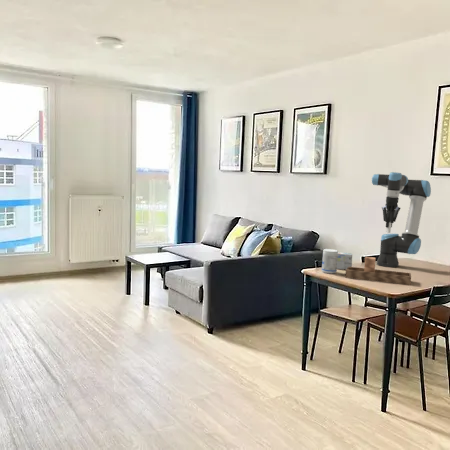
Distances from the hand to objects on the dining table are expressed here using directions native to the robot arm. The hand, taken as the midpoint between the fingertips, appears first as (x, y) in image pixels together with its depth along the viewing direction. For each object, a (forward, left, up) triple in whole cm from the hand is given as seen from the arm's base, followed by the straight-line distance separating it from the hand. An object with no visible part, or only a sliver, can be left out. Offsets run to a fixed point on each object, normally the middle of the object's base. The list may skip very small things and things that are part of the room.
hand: (388, 232), depth 311 cm
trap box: (+13, +15, -28) cm, 34 cm away
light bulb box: (+22, -17, -28) cm, 39 cm away
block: (+17, +12, -25) cm, 33 cm away
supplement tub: (+37, -5, -28) cm, 46 cm away
